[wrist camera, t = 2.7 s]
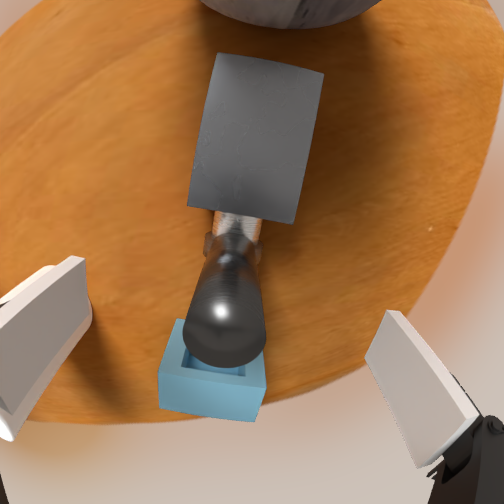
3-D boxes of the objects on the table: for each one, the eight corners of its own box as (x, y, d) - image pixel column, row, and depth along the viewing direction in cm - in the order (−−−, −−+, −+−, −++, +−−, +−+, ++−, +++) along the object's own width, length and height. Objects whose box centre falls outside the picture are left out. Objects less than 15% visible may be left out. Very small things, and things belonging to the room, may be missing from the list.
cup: (103, 298, 23) (11, 422, 8) (81, 346, 25) (15, 451, 10) (43, 249, 22) (-70, 331, 6) (29, 303, 23) (-52, 386, 8)
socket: (176, 318, 24) (157, 371, 17) (260, 331, 25) (266, 388, 18) (174, 354, 26) (159, 407, 19) (251, 366, 26) (254, 422, 19)
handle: (236, 81, 17) (228, -10, 6) (290, 92, 17) (350, 18, 6) (199, 298, 23) (168, 415, 11) (246, 305, 23) (250, 427, 11)
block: (224, 80, 18) (217, 52, 12) (302, 95, 18) (324, 73, 13) (202, 192, 21) (186, 206, 15) (279, 206, 21) (293, 224, 15)
